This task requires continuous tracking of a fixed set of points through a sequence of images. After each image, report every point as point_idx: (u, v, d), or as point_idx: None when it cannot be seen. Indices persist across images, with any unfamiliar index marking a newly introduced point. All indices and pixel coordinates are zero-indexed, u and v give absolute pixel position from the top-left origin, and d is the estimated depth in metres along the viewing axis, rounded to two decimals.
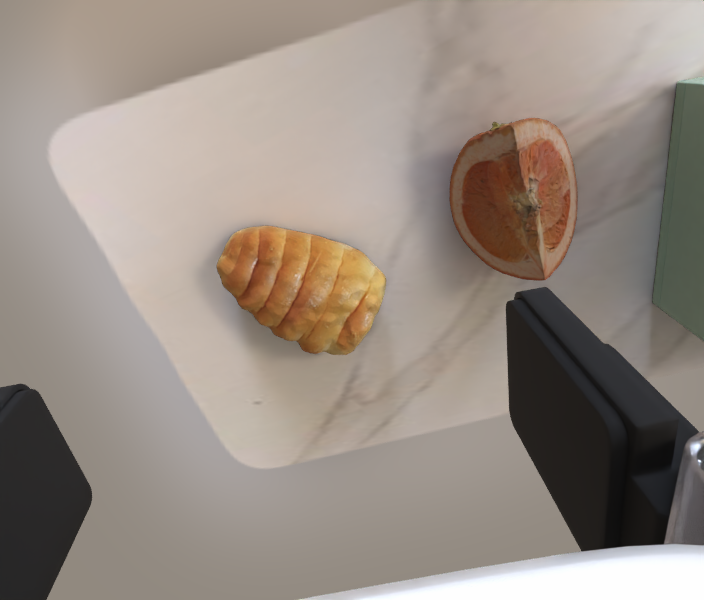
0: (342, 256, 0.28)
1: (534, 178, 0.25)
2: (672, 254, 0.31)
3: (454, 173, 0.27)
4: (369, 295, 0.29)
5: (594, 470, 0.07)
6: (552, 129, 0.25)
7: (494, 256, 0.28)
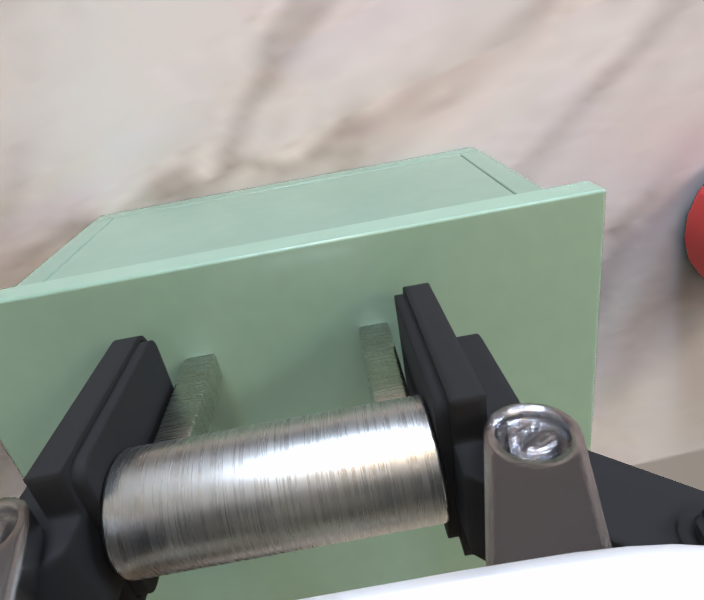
0: None
1: None
2: None
3: None
4: None
5: None
6: None
7: None
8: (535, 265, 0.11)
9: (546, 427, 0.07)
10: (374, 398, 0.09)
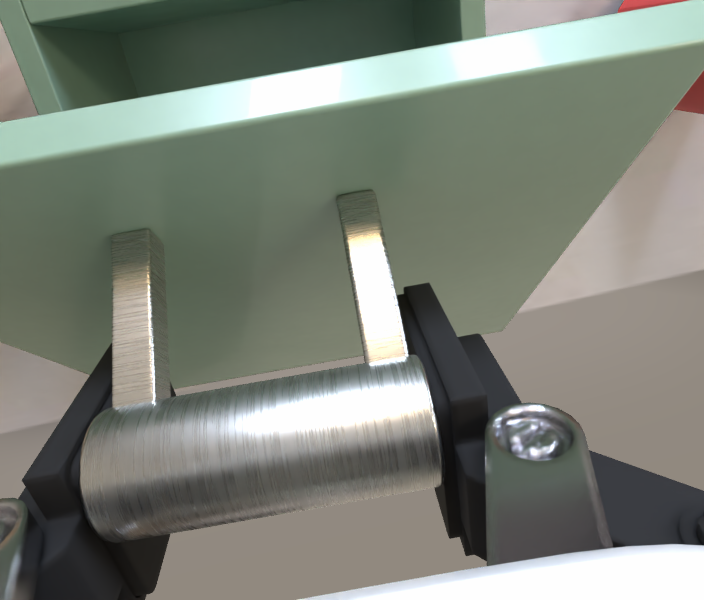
0: None
1: None
2: None
3: None
4: None
5: None
6: None
7: None
8: (582, 126, 0.08)
9: (548, 427, 0.07)
10: (364, 338, 0.08)
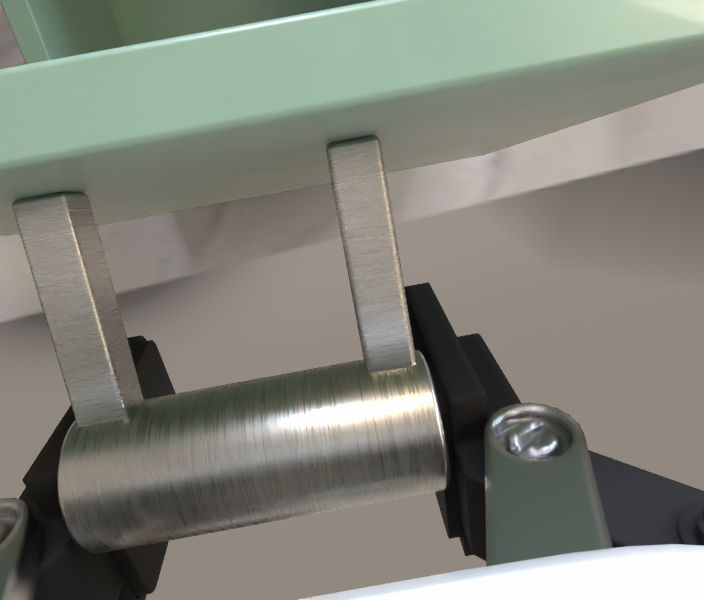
0: None
1: None
2: None
3: None
4: None
5: None
6: None
7: None
8: (688, 69, 0.06)
9: (547, 427, 0.07)
10: (364, 345, 0.07)
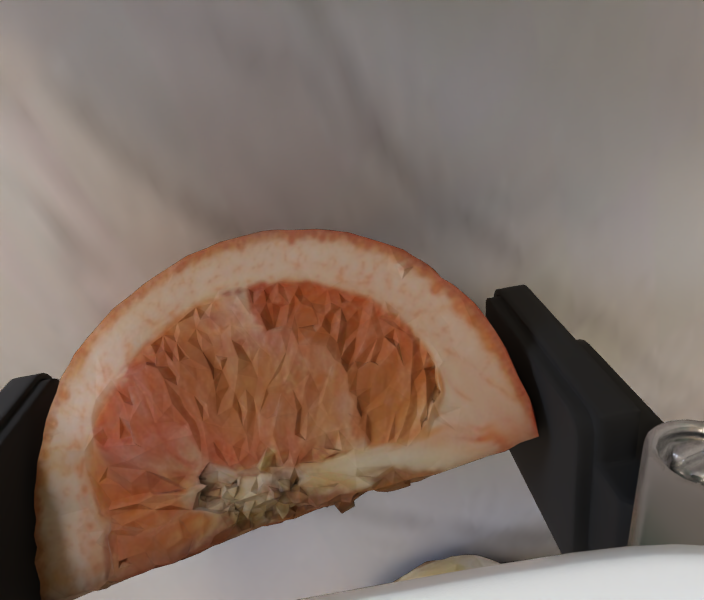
0: None
1: (200, 475, 0.08)
2: None
3: None
4: None
5: (564, 461, 0.07)
6: (70, 392, 0.09)
7: None
8: None
9: None
10: None
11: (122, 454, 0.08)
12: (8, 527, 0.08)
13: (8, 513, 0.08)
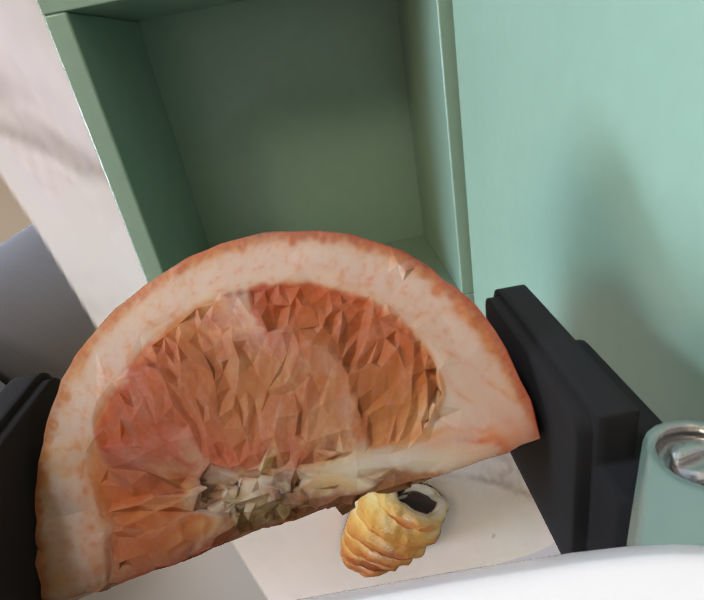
0: (360, 519, 0.37)
1: (200, 477, 0.08)
2: None
3: None
4: (389, 512, 0.36)
5: (563, 461, 0.07)
6: (71, 394, 0.09)
7: None
8: None
9: None
10: None
11: (123, 456, 0.08)
12: (9, 527, 0.08)
13: (9, 513, 0.08)
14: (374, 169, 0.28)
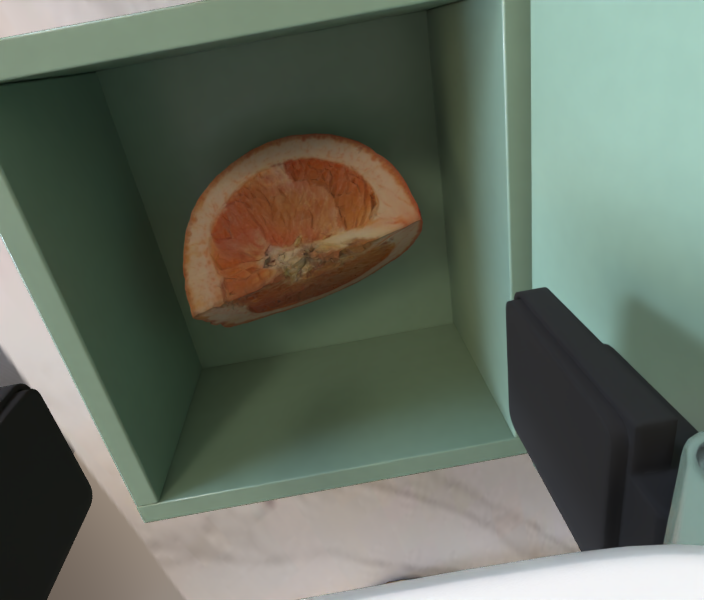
0: None
1: (265, 253, 0.17)
2: None
3: (276, 312, 0.21)
4: None
5: (594, 470, 0.07)
6: (197, 218, 0.17)
7: (388, 256, 0.19)
8: None
9: None
10: None
11: (226, 244, 0.17)
12: None
13: None
14: None
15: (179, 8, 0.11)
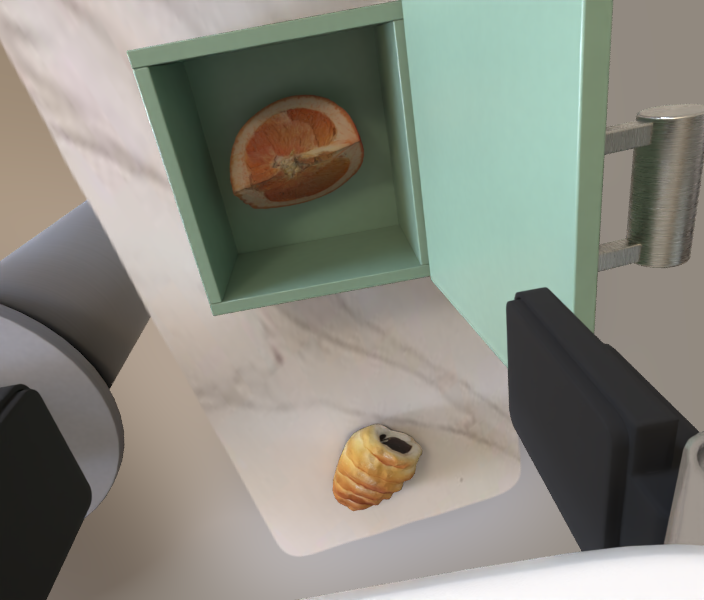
0: (348, 458, 0.46)
1: (274, 159, 0.31)
2: None
3: (283, 205, 0.34)
4: (372, 451, 0.44)
5: (594, 470, 0.07)
6: (238, 140, 0.31)
7: (348, 169, 0.33)
8: None
9: None
10: (639, 146, 0.16)
11: (253, 154, 0.31)
12: None
13: None
14: (360, 172, 0.36)
15: (247, 30, 0.24)
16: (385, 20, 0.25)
